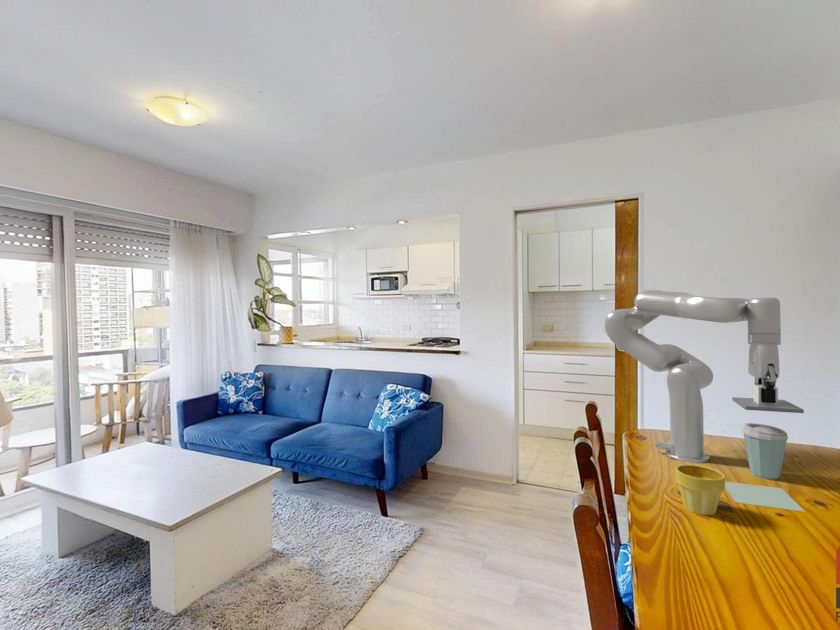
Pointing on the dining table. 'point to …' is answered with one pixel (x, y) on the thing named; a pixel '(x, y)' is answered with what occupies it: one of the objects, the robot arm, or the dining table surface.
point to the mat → (761, 496)
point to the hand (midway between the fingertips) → (765, 400)
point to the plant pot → (700, 488)
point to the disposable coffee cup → (765, 449)
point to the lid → (760, 406)
